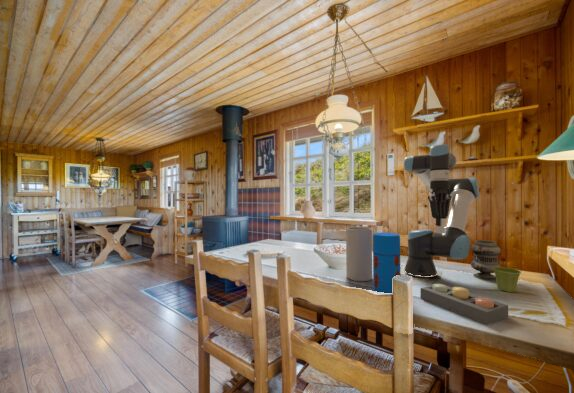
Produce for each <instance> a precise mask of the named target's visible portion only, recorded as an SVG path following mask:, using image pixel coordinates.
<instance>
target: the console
mask: <svg viewBox="0 0 574 393" xmlns="http://www.w3.org/2000/svg"><path fill="white" fill-rule="evenodd" d="M441 284H442V285H445V286H447V292H443V293H442V292H439V291H436V290H433V284H432V285H429V286H427V285H426V286H423V287H420V299H422V300H424V301H427V302H430V303H432V304H435V305H436V306H437V305H438V306H439V307H442V308H444V309H446V310H449V311H452V312H455V313H456V314H457V313H458V314H460V315H463V316H464V317H467V318H470V319H472V320H475V321H477V322H480V323H482V324H485V325H487V326H488V325H491V324H493V323H496V322H498V321H501V320H504V319H506V318H509V305H508V304H506V303H502V302H499V301H496V300H492V299H491V300H492V301H493V302H494V308H491V309H487V308H484V307H482V306H479V305H476V304H475V299H476V298H486V297H484V296H481V295H477V294H475V293H471V292H469V299H467V300H462V299H459V298H456V297H453V296H452V288H453V287H454V286H453V287H452V286H449V285H446V284H443V283H441ZM486 299H488V298H486Z"/></svg>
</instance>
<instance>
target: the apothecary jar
mask: <svg viewBox="0 0 574 393" xmlns="http://www.w3.org/2000/svg"><path fill="white" fill-rule="evenodd" d="M470 249H471V252H473V260H471V262H470V266H471V268H473V270H475V271H478V272H476V273H473V276H474V277H475V278H478V279H481V280H485V281H486V280H487V281H496V276H495V275H494V274H495V273H494V270H493V268H494V267H502V266H501V265H500V264H499V260H498V259H499V256H498V255H499V254H501V252H502V250H501V248H500V247H499V246H498V244H497V242H496V241H493V240H487V239H477V240H475V241H474V244H472V246H471V245H470Z"/></svg>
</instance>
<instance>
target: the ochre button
mask: <svg viewBox="0 0 574 393" xmlns="http://www.w3.org/2000/svg"><path fill="white" fill-rule="evenodd" d="M469 291H470V290H469V289H468V288H466V287H462V286H453V288H452V296H453V297H456V298H459V299H462V300H467V299H469V293H470V292H469Z"/></svg>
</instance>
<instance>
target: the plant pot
mask: <svg viewBox="0 0 574 393" xmlns="http://www.w3.org/2000/svg"><path fill="white" fill-rule="evenodd" d="M493 270H494V273H493V274H495V275H494V276H496V280H495V282H496V285H497V287H496V288H497V289H498V290H500V291H503V292H507V293H515V292H517V286H518V281H519V277H520V274H522V271H521V270H518V269H516V268H511V267H507V266H506V267H504V266H501V267H494V268H493Z"/></svg>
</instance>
